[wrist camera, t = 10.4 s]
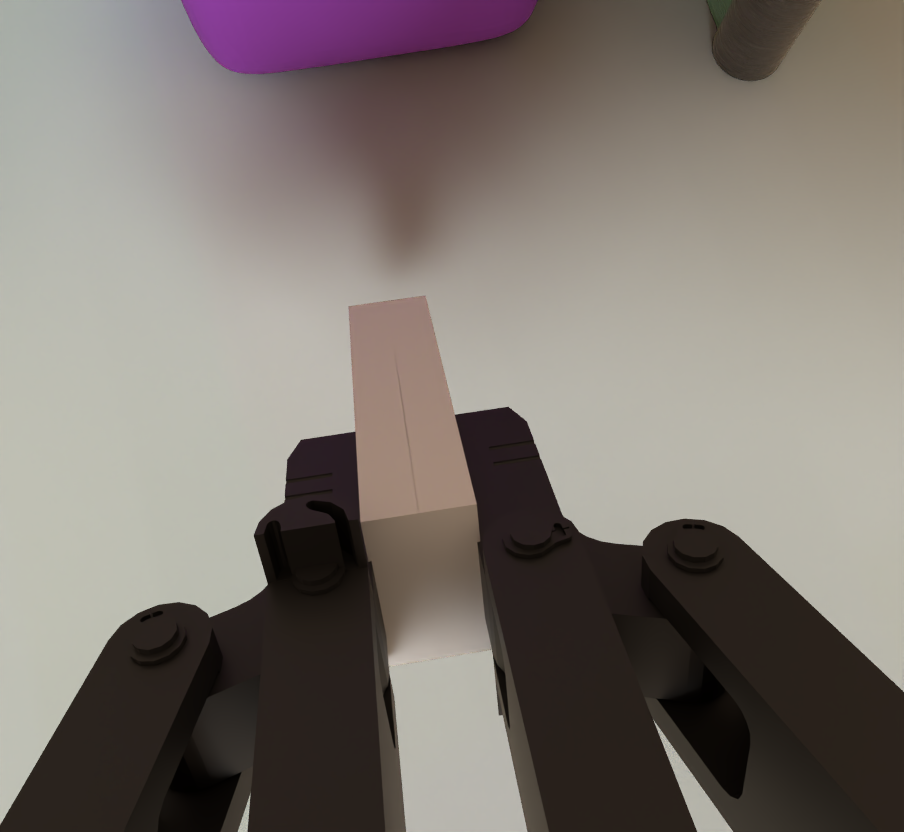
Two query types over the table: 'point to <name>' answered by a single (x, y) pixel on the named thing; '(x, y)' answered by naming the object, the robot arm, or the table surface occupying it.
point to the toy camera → (342, 29)
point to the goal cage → (756, 33)
